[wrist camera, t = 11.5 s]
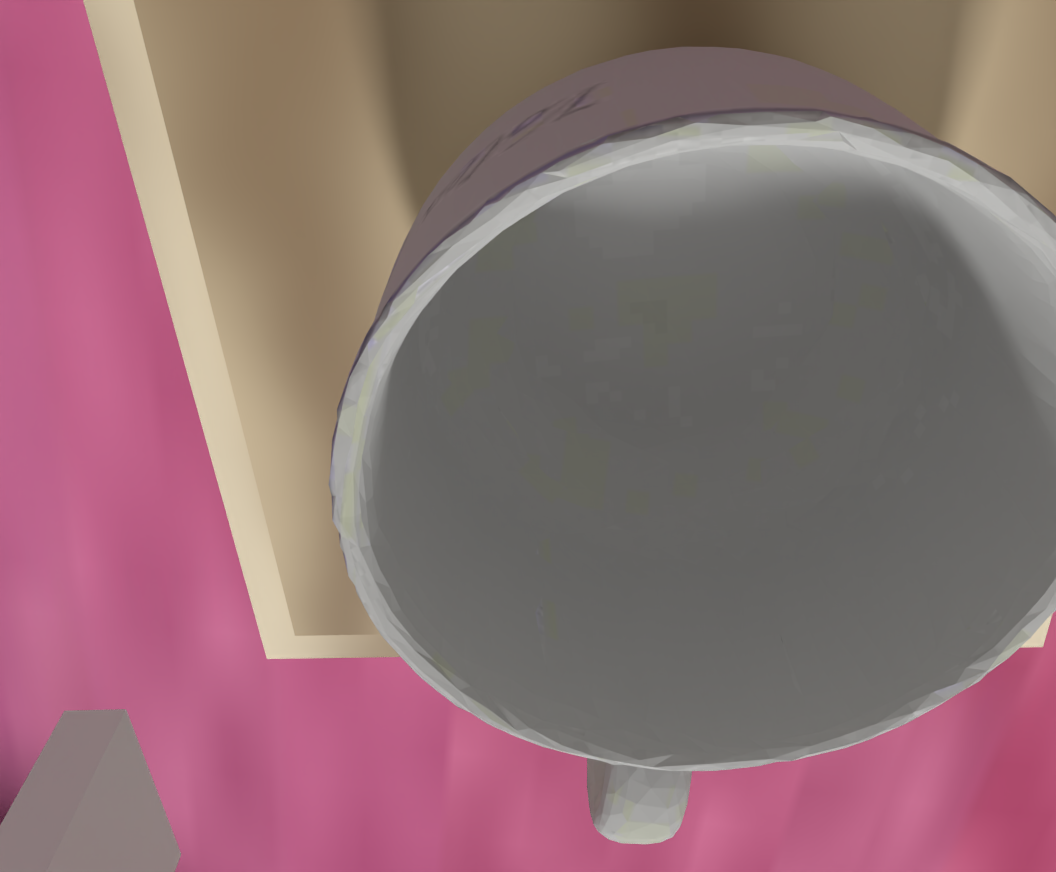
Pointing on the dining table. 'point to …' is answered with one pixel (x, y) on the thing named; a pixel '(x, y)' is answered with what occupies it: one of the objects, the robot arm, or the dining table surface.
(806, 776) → the dining table surface
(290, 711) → the dining table surface
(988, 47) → the beige tray
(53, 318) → the dining table surface
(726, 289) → the teacup
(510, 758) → the dining table surface
